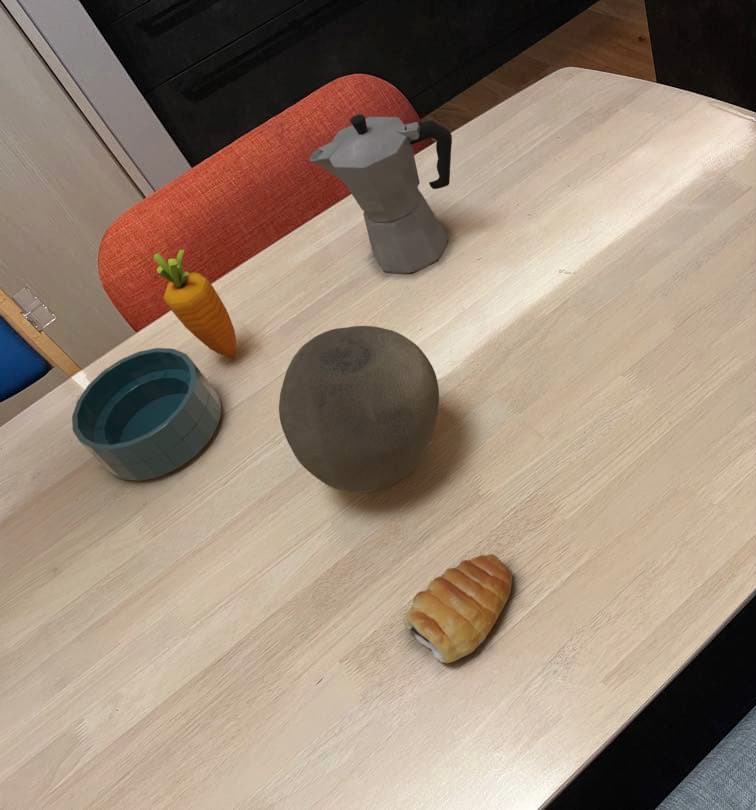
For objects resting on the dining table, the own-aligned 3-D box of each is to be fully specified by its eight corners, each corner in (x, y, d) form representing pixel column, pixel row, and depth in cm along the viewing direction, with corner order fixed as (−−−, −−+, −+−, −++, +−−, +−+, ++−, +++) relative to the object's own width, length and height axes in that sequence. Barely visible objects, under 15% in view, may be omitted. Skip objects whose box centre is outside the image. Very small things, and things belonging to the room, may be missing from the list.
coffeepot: (356, 286, 105) (291, 157, 92) (360, 235, 111) (300, 106, 98) (485, 258, 103) (438, 122, 90) (482, 207, 110) (438, 73, 96)
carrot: (209, 352, 104) (136, 253, 92) (249, 333, 104) (182, 233, 93) (215, 379, 100) (141, 281, 89) (257, 360, 101) (189, 260, 90)
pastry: (478, 549, 79) (466, 526, 76) (534, 590, 75) (524, 567, 73) (401, 631, 76) (386, 610, 73) (457, 678, 72) (443, 658, 69)
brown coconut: (429, 530, 81) (370, 429, 70) (296, 509, 86) (221, 410, 75) (480, 408, 89) (435, 299, 78) (355, 394, 94) (296, 290, 83)
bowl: (82, 478, 95) (47, 444, 90) (144, 381, 103) (114, 345, 98) (187, 488, 91) (156, 453, 86) (243, 387, 99) (217, 350, 94)
